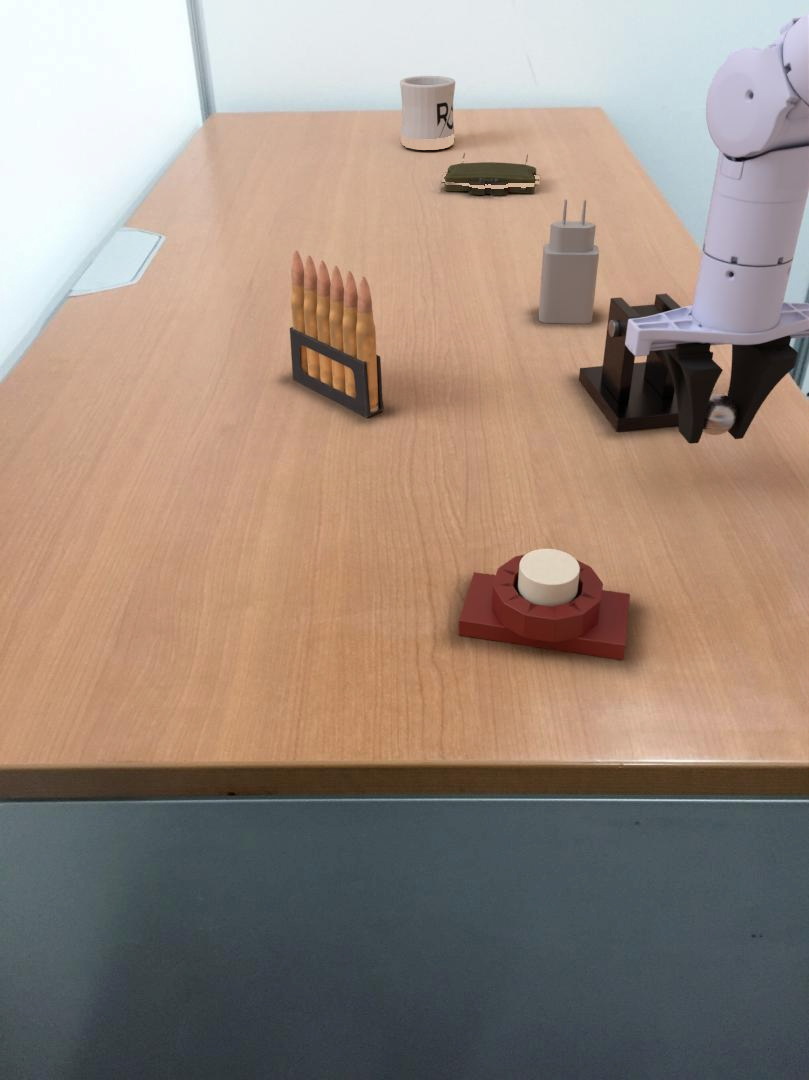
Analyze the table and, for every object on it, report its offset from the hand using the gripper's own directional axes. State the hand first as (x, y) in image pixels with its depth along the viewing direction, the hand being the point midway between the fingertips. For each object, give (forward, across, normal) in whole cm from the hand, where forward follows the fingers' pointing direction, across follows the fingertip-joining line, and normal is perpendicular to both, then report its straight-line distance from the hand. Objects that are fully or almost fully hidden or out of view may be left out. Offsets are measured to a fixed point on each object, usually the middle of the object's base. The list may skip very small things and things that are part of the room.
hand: (711, 434), depth 70 cm
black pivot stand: (+4, 0, -14) cm, 15 cm away
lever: (-1, 0, -7) cm, 7 cm away
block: (+4, +16, +13) cm, 22 cm away
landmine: (+5, -5, -84) cm, 85 cm away
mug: (+5, -1, -109) cm, 109 cm away
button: (+2, +16, +13) cm, 21 cm away
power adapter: (+4, 0, -33) cm, 33 cm away
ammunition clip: (+4, +26, -20) cm, 33 cm away
